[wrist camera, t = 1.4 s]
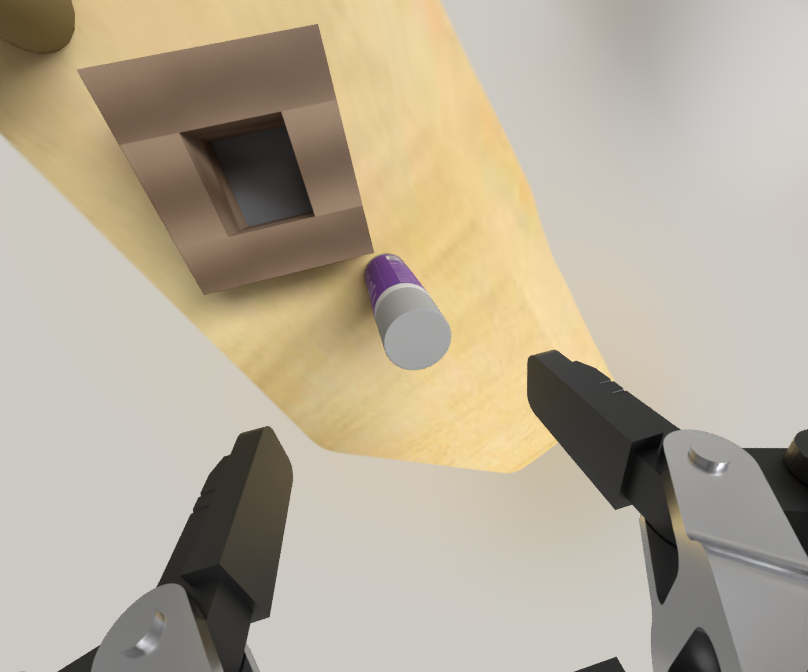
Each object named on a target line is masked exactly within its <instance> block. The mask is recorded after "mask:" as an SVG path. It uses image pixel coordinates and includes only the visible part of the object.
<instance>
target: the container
mask: <svg viewBox="0 0 808 672" xmlns="http://www.w3.org/2000/svg"><path fill="white" fill-rule="evenodd" d="M365 281H366V285H367V289H368V293H369V297H370V301H371V305H372V309H373V313H374V318H375V321H376V324H377V327H378V330H379V333H380V337H381V340H382V343H383V346H384V349H385V352H386V355H387V356H388V358H389V359H390V361H391V362H392V363H394V364H395V365H397V366H398V367H400V368H403V369H407V370H420V369H424V368H427V367H430V366H432V365H433V364H435V363H437V362H438V361H439V360H440V359H441V358H442V357H443V356H444V355H445V353H446V352H447V350H448V348H449V346H450V342H451V330H450V326H449V324H448V322H447V321H446V319H445V318H444V316H443V315H442V313H441V312H440V310H439V309H438V307H437V306H436V304H435V303H434V301H433V300H432V298H431V297H430V295H429V294H428V292H427V291H426V290H425V289H424V287H423V286H422V285H421V283H420V282H419V281H418V279H417V278H416V277H415V276H414V274H413V273H412V272H411V270H410V269H409V268H408V266H407V265H406V264H405V263H404V261H403V260H402V259H401V258H399V257H398V256H396V255H394V254H389V253H385V254H380V255H377V256H376V257H374V258H373V259H372V260H371V261H370V262H369V263H368V265H367V267H366V270H365Z"/></svg>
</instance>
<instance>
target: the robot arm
mask: <svg viewBox="0 0 808 672" xmlns="http://www.w3.org/2000/svg"><path fill="white" fill-rule="evenodd" d="M527 397H528V401H529V404H530V407H531V409H532V410H533V412H534V414H535V415H536V416H537V417H538V418H539V420H540V421H541V422H542V423H543V424H544V426H545V427H546V428H547V429H548V430H549V432H550V433H551V434H552V435H553V436H554V437H555V439H556V440H557V441H558V442H559V443H560V444H561V446H562V447H563V448H564V449H565V451H566V452H567V453H568V454H569V455H570V456H571V458H572V459H573V460H574V461H575V462H576V463H577V465H578V466H579V467H580V468H581V470H582V471H583V472H584V473H585V474H586V475H587V477H588V478H589V479H590V480H591V481H592V483H593V484H594V485H595V486H596V488H597V489H598V490H599V491H600V492H601V493H602V495H603V496H604V497H605V498H606V499H607V501H608V502H609V503H610V504H611V505H612V506H613V508H614V509H615V510H617V509H620V508H623V507H626V506H629V505H633V506H634V507H635V508H636V509H637V510H638V511H639V512H640V513H641V514H640V519H639V521H640V529H641V536H642V543H643V550H644V557H645V564H646V571H647V577H648V584H649V591H650V598H651V605H652V628H651V654H652V664H653V672H808V429H807V430H804V431H801V432H799V433H798V434H797V435H796V436H795V438H794V440H793V441H792V443H791V445H790V446H789V448H740V447H739V446H738V445H736V444H734V443H732V442H730V441H729V440H726V439H724V438H722V437H719V436H717V435H714V434H710V433H707V432H702V431H697V430H680V429H679V428H677V427H676V426H675V425H673V424H672V423H670V422H669V421H668V420H666V419H665V418H664V417H662V416H661V415H659V414H658V413H657V412H655V411H654V410H652V409H651V408H650V407H648V406H647V405H645V404H644V403H643V402H641V401H640V400H639V399H637V398H636V397H634V396H633V395H632V394H630V393H629V392H628V391H624V390H623V388H622V387H621V386H619V385H618V384H617V383H615V382H614V381H613V382H611V380H610V378H608V377H607V376H605V375H604V374H603V373H601V372H600V371H599V370H597V369H596V368H594V367H591V366H588V365H586V364H583V363H581V362H578V361H574V362H571V361H570V360H569V359H568V358H566V357H565V356H564V355H562V354H561V353H560V352H558V351H557V350H550V351H547V352H543V353H539V354H536V355H532V356H530V357H529V358H528V363H527ZM292 482H293V472H292V466H291V463H290V460H289V458H288V456H287V455H286V453H285V451H284V449H283V447H282V445H281V444H280V442H279V440H278V438H277V436H276V435H275V433H274V431H273V429H271V427H269V426H266V427H263V428H259V429H255V430H251V431H247V432H244V433H241V434H240V435H239V436H238V438H237V440H236V442H235V445H234V447H233V450H232V452H231V454H230V455H228V456H225V457H223V459H222V460H221V461H220V462H219V463H218V464H217V466H216V467H215V468H214V469H213V470H212V472H211V473H210V474H209V476H208V478H207V480H206V483H205V485H204V487H203V489H202V491H201V497H198V500H197V502H196V504H195V506H194V508H193V513H192V514H191V515H190V517H189V519H188V521H187V523H186V525H185V528H184V530H183V532H182V534H181V536H180V538H179V541H178V543H177V545H176V547H175V549H174V551H173V553H172V556H171V558H170V560H169V562H168V564H167V567H166V569H165V571H164V573H163V575H162V577H161V579H160V582H159V583H158V585H157V587H156V588H155V589H153V590H151V591H149V592H148V593H146V594H144V595H143V596H142V597H140V598H139V599H138V600H136V602H135V603H133V604H132V605H131V606H130V607H129V608H128V609H127V610H126V611H125V612H124V613H123V614H122V615H121V616H120V617H119V619H118V620H117V621H116V622H115V623H114V625H113V626H112V627H111V629H110V630H109V632H108V633H107V635H106V636H105V638H104V639H103V641H102V643H101V645H99V646H98V647H96V648H95V649H93V650H91V651H90V652H88V653H87V654H85V655H83V656H82V657H80V658H79V659H77V660H75V661H74V662H72V663H71V664H69V665H67V666H66V667H64V668H63V669H61V670H59V671H58V672H260V671H259V668H258V666H257V664H256V662H255V659H254V657H253V655H252V653H251V650H250V648H249V647H248V645H247V644H246V641H247V636H248V631H249V627H250V623H252V622H256V621H259V620H262V619H265V618H268V617H270V611H271V605H272V600H273V594H274V588H275V582H276V576H277V570H278V564H279V558H280V553H281V547H282V541H283V535H284V529H285V523H286V518H287V512H288V506H289V500H290V494H291V488H292ZM575 672H625V671H624V669H623V667H622V665H621V664H620V662H619V660H618V659H617V657H614V658H612V659H609V660H606V661H603V662H600V663H597V664H595V665H592V666H589V667H586V668H583V669H580V670H578V671H575Z"/></svg>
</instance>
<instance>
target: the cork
mask: <svg viewBox="0 0 808 672" xmlns="http://www.w3.org/2000/svg"><path fill="white" fill-rule="evenodd" d="M74 14H75V12H74V9H73V5H72V2H71V0H0V38H2V39H4V40H5V41H7V42H9V43H11V44H13V45H16V46H18V47H20V48H22V49H24V50H26V51H32V52H37V53H43V54H45V53H50V52H55V51H59V50H60V49H61V48H63V47H64V46H65V45H66V44H68V43H69V41H70V38H71V36H72V34H73V31H74Z"/></svg>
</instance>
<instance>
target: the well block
mask: <svg viewBox="0 0 808 672" xmlns="http://www.w3.org/2000/svg"><path fill="white" fill-rule="evenodd" d="M77 71H78V73H79V75H80V77H81V78H82V80H83V82H84V84H85V86H86V87H87V89H88V91H89V93H90V94H91V96H92V98H93V100H94V101H95V103H96V105H97V107H98V108H99V110H100V112H101V114H102V116H103V117H104V119H105V121H106V123H107V124H108V126H109V128H110V130H111V131H112V133H113V135H114V137H115V138H116V140H117V142H118V144H119V146H120V147H121V149H122V151H123V153H124V154H125V156H126V158H127V160H128V161H129V163H130V165H131V167H132V169H133V170H134V172H135V174H136V176H137V177H138V179H139V181H140V183H141V184H142V186H143V188H144V190H145V191H146V193H147V195H148V197H149V199H150V200H151V202H152V204H153V206H154V207H155V209H156V211H157V213H158V214H159V216H160V218H161V220H162V221H163V223H164V225H165V227H166V229H167V230H168V232H169V234H170V236H171V237H172V239H173V241H174V243H175V244H176V246H177V248H178V250H179V251H180V253H181V255H182V257H183V259H184V260H185V262H186V264H187V266H188V267H189V269H190V271H191V273H192V274H193V276H194V278H195V280H196V282H197V283H198V285H199V287H200V289H201V290H202V292H203V294H204V295H206V294H210V293H214V292H218V291H222V290H226V289H230V288H234V287H238V286H242V285H246V284H250V283H254V282H258V281H262V280H266V279H270V278H274V277H278V276H282V275H287V274H291V273H295V272H299V271H303V270H307V269H311V268H315V267H319V266H323V265H327V264H331V263H335V262H339V261H343V260H347V259H351V258H355V257H359V256H363V255H367V254H371V253H374V251H373V247H372V242H371V238H370V234H369V230H368V226H367V222H366V218H365V214H364V210H363V206H362V202H361V198H360V194H359V190H358V185H357V181H356V177H355V173H354V169H353V165H352V161H351V157H350V153H349V149H348V145H347V141H346V137H345V133H344V128H343V124H342V120H341V116H340V112H339V108H338V104H337V100H336V96H335V92H334V88H333V84H332V80H331V75H330V71H329V67H328V63H327V59H326V55H325V51H324V47H323V43H322V39H321V35H320V31H319V27H318V24H316V25H310V26H305V27H300V28H295V29H289V30H284V31H279V32H273V33H268V34H263V35H258V36H252V37H247V38H242V39H237V40H231V41H226V42H221V43H215V44H210V45H205V46H200V47H194V48H189V49H184V50H179V51H173V52H168V53H163V54H157V55H152V56H147V57H142V58H136V59H131V60H126V61H120V62H115V63H110V64H105V65H99V66H94V67H89V68H84V69H78V70H77Z"/></svg>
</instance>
